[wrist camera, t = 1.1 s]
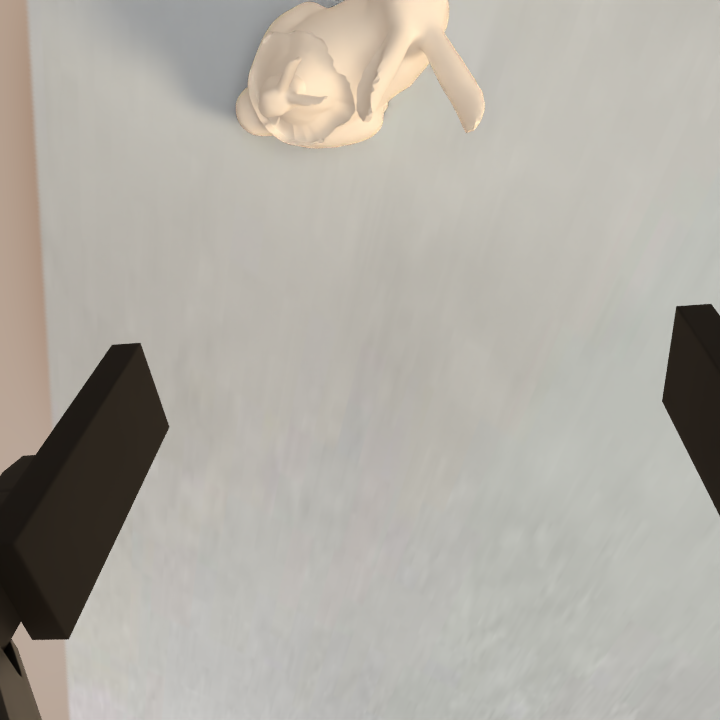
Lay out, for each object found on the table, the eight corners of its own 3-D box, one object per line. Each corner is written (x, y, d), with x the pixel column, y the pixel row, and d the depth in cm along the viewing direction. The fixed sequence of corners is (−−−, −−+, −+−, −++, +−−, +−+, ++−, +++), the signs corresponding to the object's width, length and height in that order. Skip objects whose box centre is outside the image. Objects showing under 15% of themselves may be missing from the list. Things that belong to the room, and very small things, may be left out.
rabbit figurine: (439, -65, 31) (492, -150, 22) (505, 93, 33) (579, 75, 24) (211, 67, 32) (172, 37, 23) (291, 211, 34) (284, 236, 25)
